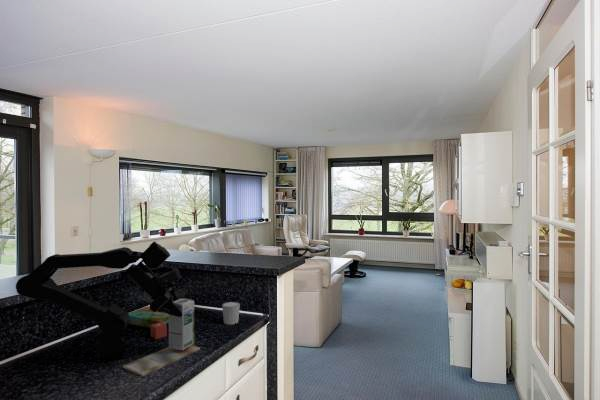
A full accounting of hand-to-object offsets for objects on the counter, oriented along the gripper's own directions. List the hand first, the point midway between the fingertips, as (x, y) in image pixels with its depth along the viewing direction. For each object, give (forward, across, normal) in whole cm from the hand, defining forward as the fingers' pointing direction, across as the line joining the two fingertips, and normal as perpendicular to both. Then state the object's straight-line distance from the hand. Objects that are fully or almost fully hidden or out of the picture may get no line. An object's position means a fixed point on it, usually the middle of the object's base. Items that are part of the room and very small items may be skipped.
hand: (182, 312), depth 117 cm
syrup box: (+8, 0, +8) cm, 11 cm away
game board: (+5, -5, +12) cm, 14 cm away
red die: (+3, +14, +15) cm, 21 cm away
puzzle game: (+1, +29, +18) cm, 34 cm away
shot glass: (+21, +23, -4) cm, 31 cm away
